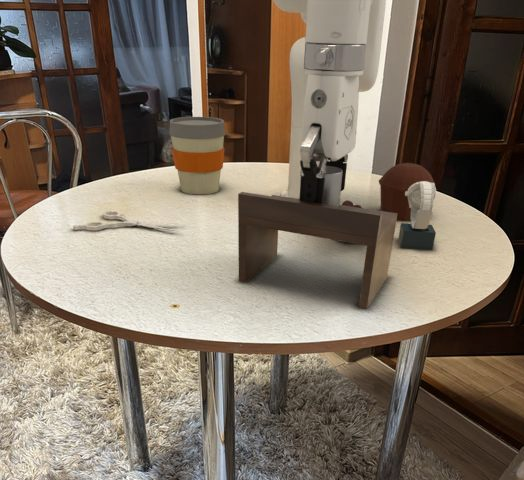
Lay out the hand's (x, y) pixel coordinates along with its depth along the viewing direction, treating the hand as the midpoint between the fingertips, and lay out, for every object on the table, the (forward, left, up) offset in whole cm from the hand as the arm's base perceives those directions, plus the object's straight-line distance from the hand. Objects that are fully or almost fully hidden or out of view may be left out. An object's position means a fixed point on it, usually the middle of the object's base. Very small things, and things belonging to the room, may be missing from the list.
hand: (322, 197), depth 73 cm
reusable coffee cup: (-35, -42, -12) cm, 56 cm away
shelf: (+1, 0, -12) cm, 12 cm away
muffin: (-39, +5, -12) cm, 41 cm away
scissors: (-6, -39, -12) cm, 41 cm away
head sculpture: (-22, +11, -12) cm, 27 cm away
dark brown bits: (-18, 0, -12) cm, 22 cm away
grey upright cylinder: (0, 0, -2) cm, 2 cm away
